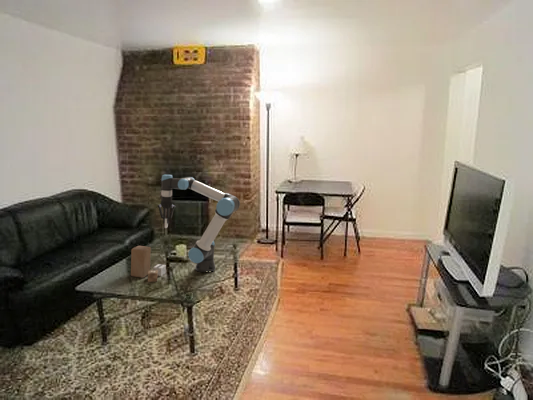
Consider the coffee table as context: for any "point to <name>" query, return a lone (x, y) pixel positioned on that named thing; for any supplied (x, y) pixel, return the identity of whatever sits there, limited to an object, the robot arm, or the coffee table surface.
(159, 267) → the striped grey block
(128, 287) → the coffee table surface
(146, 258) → the block
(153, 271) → the marked walnut cube
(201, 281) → the coffee table surface
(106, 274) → the coffee table surface
